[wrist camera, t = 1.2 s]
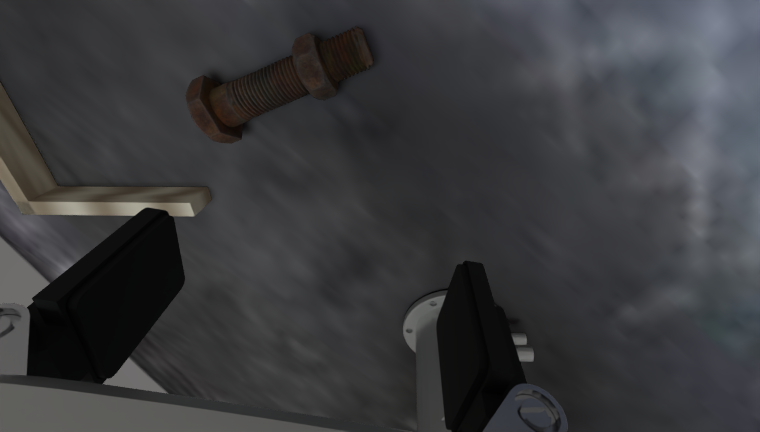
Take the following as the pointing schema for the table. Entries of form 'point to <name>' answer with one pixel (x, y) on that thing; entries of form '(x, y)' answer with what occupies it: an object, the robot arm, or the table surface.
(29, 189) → the bay
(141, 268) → the robot arm
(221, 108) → the bolt
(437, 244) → the table surface
